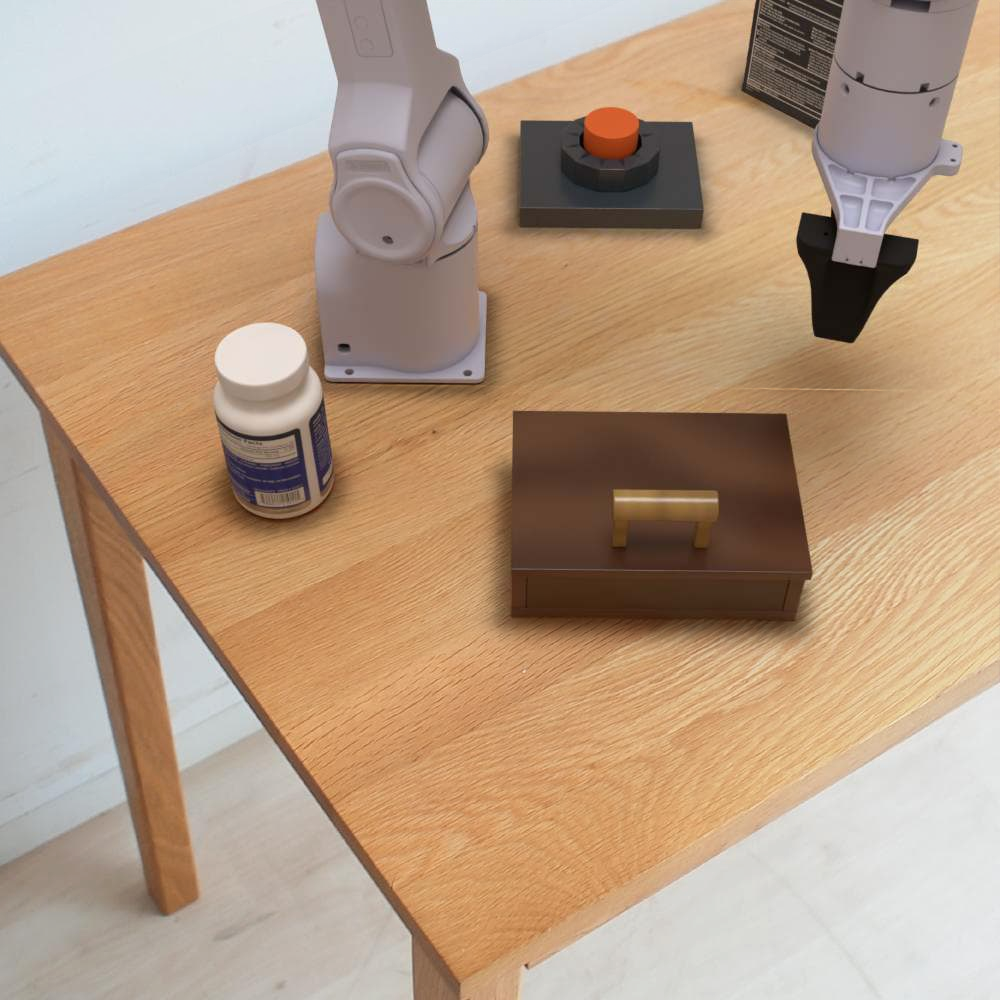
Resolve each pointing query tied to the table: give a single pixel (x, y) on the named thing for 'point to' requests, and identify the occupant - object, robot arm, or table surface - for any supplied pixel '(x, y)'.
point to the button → (611, 133)
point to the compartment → (655, 598)
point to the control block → (609, 179)
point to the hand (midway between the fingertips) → (843, 288)
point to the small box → (792, 55)
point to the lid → (656, 496)
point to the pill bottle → (272, 421)
